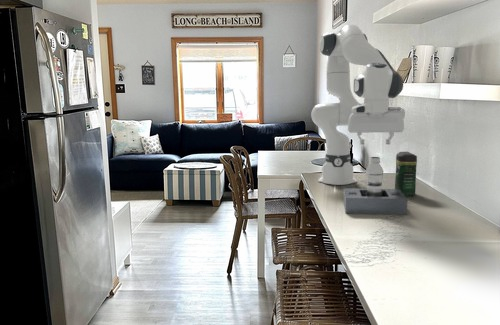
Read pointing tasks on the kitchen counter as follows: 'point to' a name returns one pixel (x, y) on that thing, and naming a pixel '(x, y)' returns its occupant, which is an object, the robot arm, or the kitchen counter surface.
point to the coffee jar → (406, 173)
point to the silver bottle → (374, 178)
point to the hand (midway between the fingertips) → (374, 144)
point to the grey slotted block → (375, 202)
